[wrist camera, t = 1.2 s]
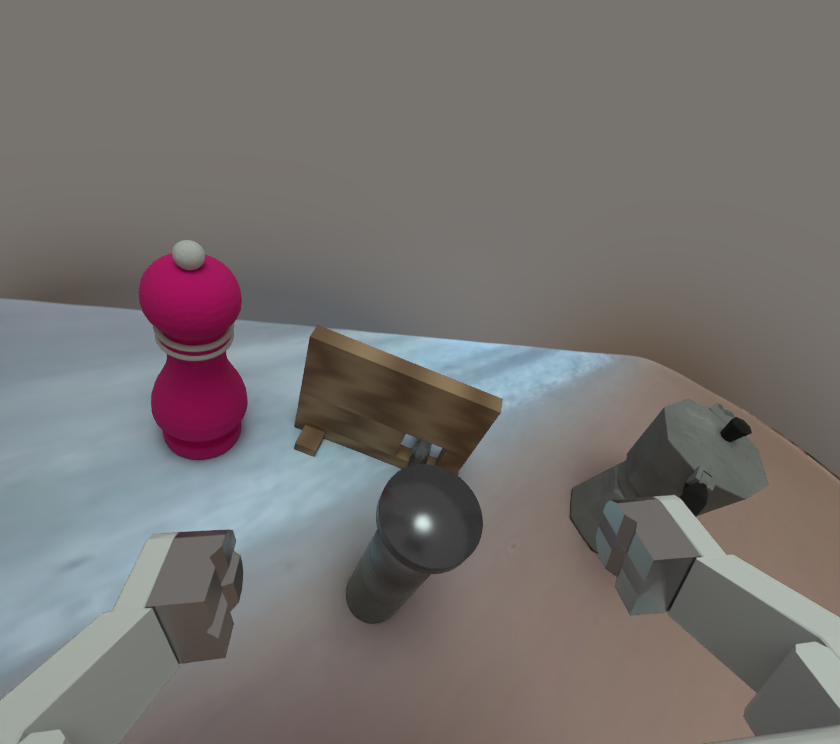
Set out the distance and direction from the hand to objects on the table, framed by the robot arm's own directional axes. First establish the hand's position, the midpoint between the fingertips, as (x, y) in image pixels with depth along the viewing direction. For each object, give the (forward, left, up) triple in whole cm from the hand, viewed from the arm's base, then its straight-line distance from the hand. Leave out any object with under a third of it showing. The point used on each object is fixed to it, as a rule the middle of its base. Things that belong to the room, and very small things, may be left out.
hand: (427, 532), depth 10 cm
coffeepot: (+24, +22, -29) cm, 44 cm away
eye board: (-1, +21, -29) cm, 35 cm away
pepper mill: (-16, +16, -29) cm, 37 cm away
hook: (+3, +15, -29) cm, 32 cm away
